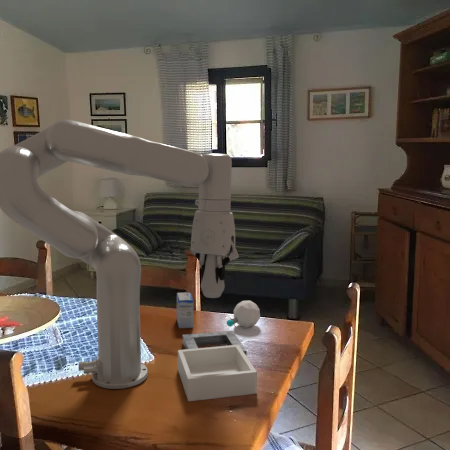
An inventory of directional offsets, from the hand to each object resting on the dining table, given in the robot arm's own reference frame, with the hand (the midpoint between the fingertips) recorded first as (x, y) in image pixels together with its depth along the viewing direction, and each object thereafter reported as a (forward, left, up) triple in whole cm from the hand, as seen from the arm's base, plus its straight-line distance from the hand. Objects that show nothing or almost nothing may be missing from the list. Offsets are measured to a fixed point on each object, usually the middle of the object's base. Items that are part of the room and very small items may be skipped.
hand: (212, 280), depth 118 cm
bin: (-2, -10, -21) cm, 23 cm away
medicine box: (-3, +28, -21) cm, 35 cm away
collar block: (+1, +6, -21) cm, 22 cm away
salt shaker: (0, 0, -4) cm, 4 cm away
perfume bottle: (+13, +21, -21) cm, 33 cm away
